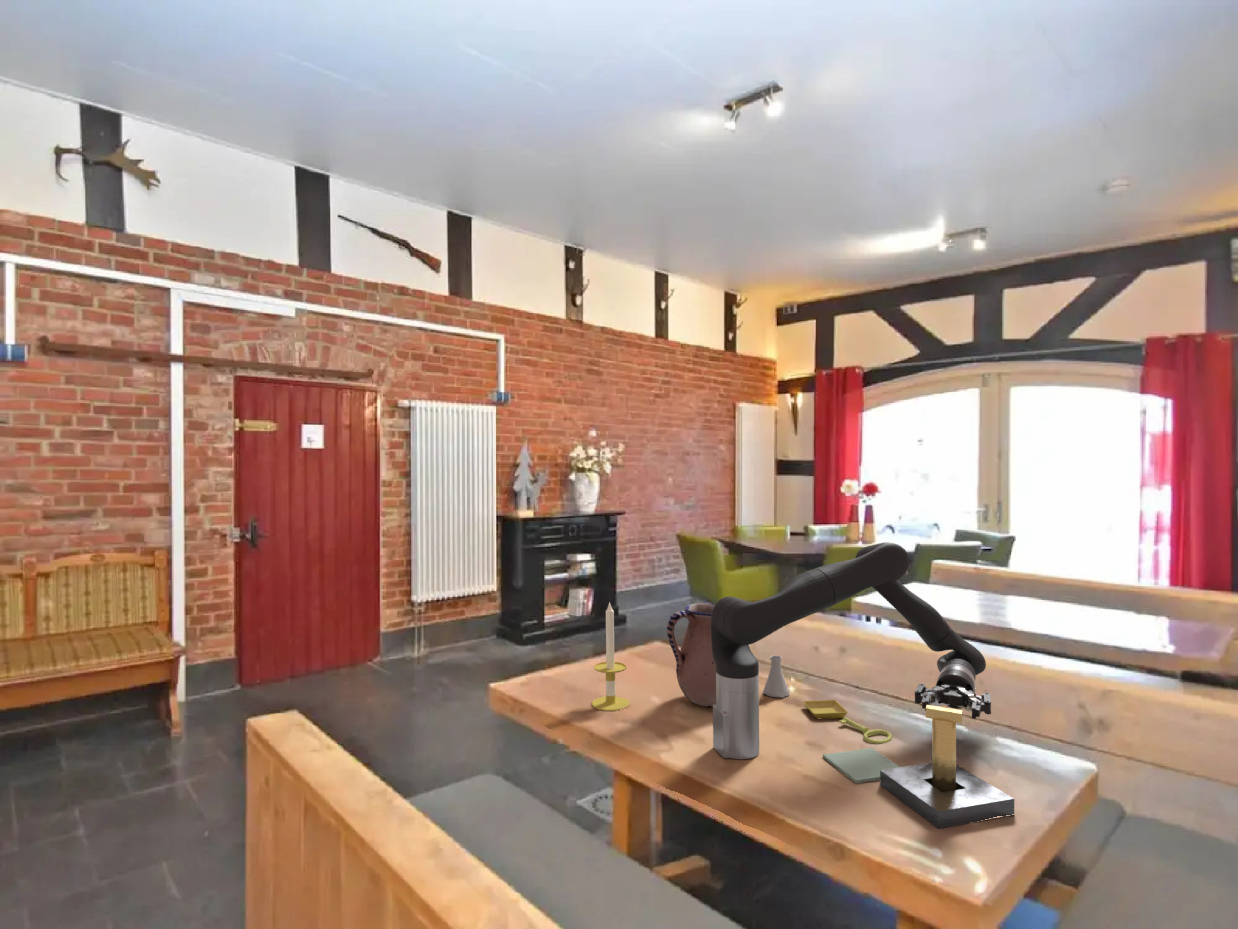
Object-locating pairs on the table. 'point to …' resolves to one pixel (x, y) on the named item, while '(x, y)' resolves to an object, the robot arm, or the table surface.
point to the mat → (860, 764)
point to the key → (868, 732)
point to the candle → (610, 670)
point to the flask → (776, 680)
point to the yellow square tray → (825, 709)
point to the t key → (944, 746)
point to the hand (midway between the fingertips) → (949, 710)
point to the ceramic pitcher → (695, 654)
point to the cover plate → (946, 796)
